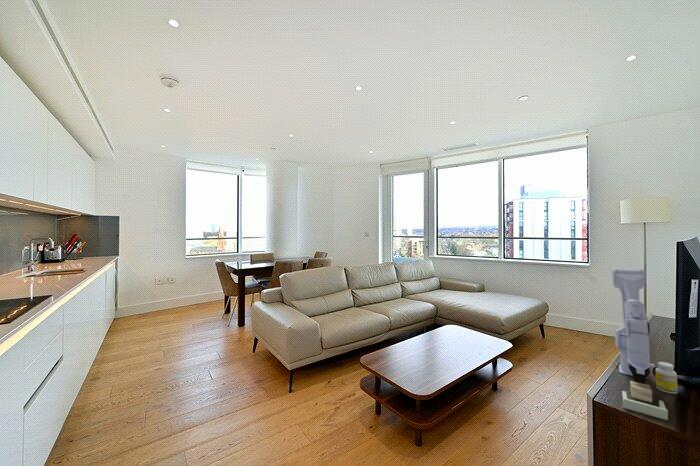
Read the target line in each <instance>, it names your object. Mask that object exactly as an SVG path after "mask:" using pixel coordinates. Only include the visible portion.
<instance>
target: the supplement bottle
mask: <svg viewBox="0 0 700 466" xmlns="http://www.w3.org/2000/svg"><path fill="white" fill-rule="evenodd" d="M654 370H655V372H654V374H655V388H656V389H658V390H659V391H660V392H661V391H662V392H664V393H668V394H672V395H673V394H675V395H676V394H678V390H679V388H678V387H679V386H678V375H677V372H676V371H675V370H674V365H673V364H672V363H670V362H666V361H665V362H664V361H658V362H657V367H656V368H655V369H654Z"/></svg>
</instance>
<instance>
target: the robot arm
mask: <svg viewBox="0 0 700 466" xmlns="http://www.w3.org/2000/svg"><path fill="white" fill-rule="evenodd" d="M611 271H612V274H611V275H612V284H613V287H614V288H616V289H619V292H620V295H621V297H620V298H621V310H622V324H623V326H621V327H619V328H618V329H615V335H614V343H615V344H614V345H615V348H617V349H619V357H620V358H619V359H620V361H619V363H620V364H618V368H619V374H623V375H627V376H631V377H632V378H633V382H637V383H641V384H646V380H648V376H649V375H650V374H651V370H650V368H655V364H654V363H650V360H651V359H650V337H649V336H651V333H652V325H651V322H650V320H649V317H648V316H647V312H646V307H645V304H644V303H643V302H642V301H640V290H643V289H644V287H645V284H646V282H647V281H646V280H647V279H646V278H647V277H646V276H647V275H646V271H645V270H644V269H643V268H639V269H638V268H637V269H635V268H618V267H617V268H616V267H614V268H613V269H612V270H611Z"/></svg>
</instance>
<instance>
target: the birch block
mask: <svg viewBox="0 0 700 466" xmlns="http://www.w3.org/2000/svg"><path fill="white" fill-rule="evenodd" d="M629 385H630V394H631V397H632V398H633V399H637V400H640V401H645V402H649V403H653V390H652V388H651V386H650V384H646V383H645V384H641V383H637V382H634V380H630V381H629Z"/></svg>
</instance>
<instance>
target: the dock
mask: <svg viewBox="0 0 700 466" xmlns="http://www.w3.org/2000/svg"><path fill="white" fill-rule="evenodd" d="M621 392H622V393H621V396H622V403H623V404H622V405H623V408H624V409H627V410H631V411H634V412H637V413H641V414H644V415H648V416H652V417H654V418H659V419H662V420H666V421H668V420H669V414H668V413H669V411H668V409H667V408H666V405H665V403H664V401H663V400H658V406H656V405H651V404H648V403H646V402H645V403H644V402H640V401H636V400H634V399H629V398H628V396H627V391H624V390H622V391H621Z"/></svg>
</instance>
